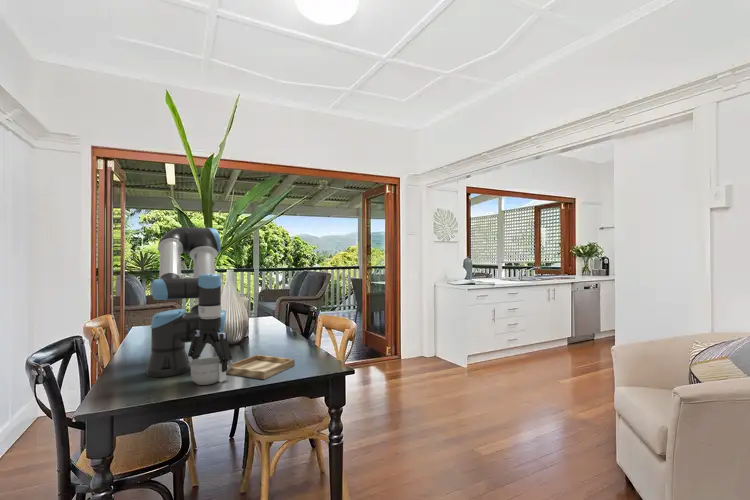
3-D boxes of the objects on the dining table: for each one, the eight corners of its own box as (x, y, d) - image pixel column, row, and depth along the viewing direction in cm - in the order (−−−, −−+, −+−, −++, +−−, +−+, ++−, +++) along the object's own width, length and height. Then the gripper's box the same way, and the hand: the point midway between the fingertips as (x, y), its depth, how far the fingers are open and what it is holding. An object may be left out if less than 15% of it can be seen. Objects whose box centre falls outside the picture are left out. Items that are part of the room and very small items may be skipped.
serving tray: (223, 373, 153) (223, 366, 153) (256, 360, 171) (256, 354, 171) (264, 379, 146) (264, 372, 146) (294, 365, 163) (294, 359, 163)
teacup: (187, 389, 136) (187, 365, 136) (192, 378, 146) (192, 356, 146) (231, 385, 140) (231, 362, 140) (233, 375, 150) (233, 354, 150)
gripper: (176, 316, 145) (176, 377, 145) (227, 321, 135) (227, 386, 135) (193, 313, 152) (193, 371, 152) (243, 317, 142) (243, 379, 142)
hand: (209, 378), depth 144 cm, fingers closed on teacup, 11 cm apart
